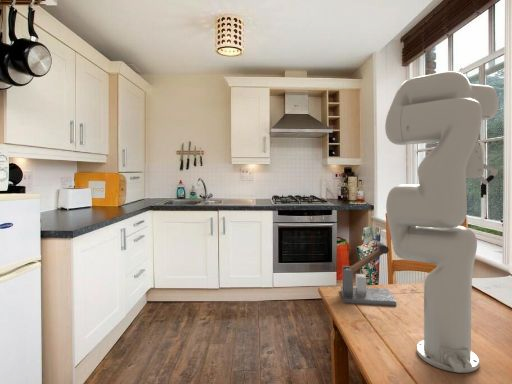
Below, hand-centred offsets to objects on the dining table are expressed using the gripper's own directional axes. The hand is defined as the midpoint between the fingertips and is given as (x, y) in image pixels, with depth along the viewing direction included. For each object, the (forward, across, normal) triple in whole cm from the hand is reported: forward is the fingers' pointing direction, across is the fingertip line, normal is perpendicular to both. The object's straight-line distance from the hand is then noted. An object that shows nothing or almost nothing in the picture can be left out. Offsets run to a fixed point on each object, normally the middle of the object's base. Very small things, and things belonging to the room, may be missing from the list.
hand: (463, 197), depth 98 cm
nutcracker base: (+36, -28, -5) cm, 46 cm away
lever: (+24, -28, -5) cm, 37 cm away
